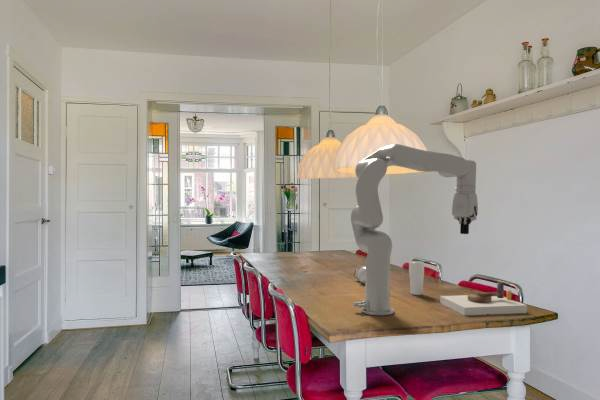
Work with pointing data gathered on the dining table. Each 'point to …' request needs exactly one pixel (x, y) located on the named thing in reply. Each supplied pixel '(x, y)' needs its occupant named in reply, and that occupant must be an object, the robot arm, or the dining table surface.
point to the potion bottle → (360, 274)
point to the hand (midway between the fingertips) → (464, 233)
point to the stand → (483, 305)
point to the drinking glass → (416, 277)
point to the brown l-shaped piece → (488, 294)
